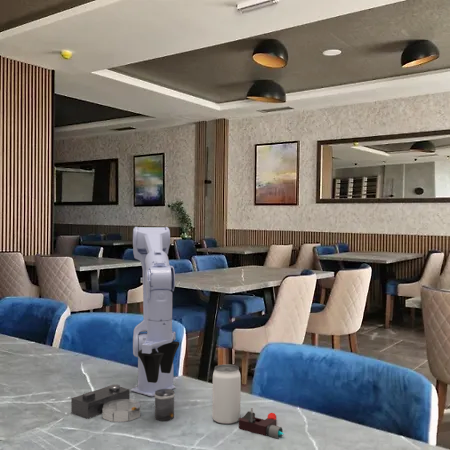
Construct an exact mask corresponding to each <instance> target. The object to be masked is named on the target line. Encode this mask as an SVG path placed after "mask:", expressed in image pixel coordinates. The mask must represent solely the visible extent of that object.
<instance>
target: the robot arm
mask: <svg viewBox="0 0 450 450" xmlns="http://www.w3.org/2000/svg"><path fill="white" fill-rule="evenodd" d="M170 246H171V231H170V228H169V227H168V226H165V227H163V226H160V227H159V226H156V227H154V226H153V227H152V226H151V227H150V226H149V227H146V226H145V227H143V226H139V227H138V226H134V227H133V230H132V247H133V248H132V249H133V251H132V252H133V257H134V259H135V260H138V261H139V262H140V264H141V268H142V306H143V313H142V314H143V315H142V316H143V320H142V321H141V322H139V323H138V324H137V325H135V327H134V329H133V335H132V336H133V337H132V354H133V356H134V357H135V358H137V386H135V387H133V388H130V391H131V392H134V393H138V394H142V395H144V396H149V397H155V391H157V390H160V389H171V390H174V389H176V385H174V359H175V356H176V353H177V350H178V349H179V347H180V342H179V341H175V340H176V331H173V292H174V291H175V286H176V273H175V268H174V266H173V265H170V261H169V256H168V255H169V249H170Z"/></svg>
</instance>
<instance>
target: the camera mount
mask: <svg viewBox="0 0 450 450" xmlns="http://www.w3.org/2000/svg"><path fill="white" fill-rule="evenodd" d="M130 391H131V388H130V389H129V388H126V387H122V386H121V385H120V384H110V385H109V386H105V387H103V388H99V389H96V390H93V391H89V392H86V393H85V392H84V393H83V394H80V395H77V396H74V397H71V408H70V409H71V410H70V412H71V413H72V414H73V415H76V416H79V417H82V418H84V417H85V419H87V418H88V419H91V418H94V417H97V416H99V415H102V419H104V420H105V421H109V422H111V423H118V422H119V423H120V422H121V423H123V422H124V423H125V422H130V421H133V420H136V419H138V418H140V417H141V401H138V400H135V399H131V397H130V394H131V392H130ZM96 415H97V416H96ZM93 416H94V417H93ZM90 417H91V418H90Z"/></svg>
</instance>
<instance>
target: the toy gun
mask: <svg viewBox="0 0 450 450" xmlns="http://www.w3.org/2000/svg"><path fill="white" fill-rule="evenodd" d="M253 410H254V409H253V408H252V407H250V410H249V411H246V413H245V415H244V416H241V417H240V418H239V421H238V424H237V425H238V429H239V430H242V431H245V432H250V433H252V434H257V435H261V436H263V437H266V436H269V437H271V438H274V439H279V437H282V436H283V435H285V433H284V432H283V427H282V426H277V415H276V413H275V412H269V413H268V414H267V418H265V419H263V418H259V417H257V416H256V413H255V412H254V411H253Z"/></svg>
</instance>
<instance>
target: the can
mask: <svg viewBox="0 0 450 450" xmlns="http://www.w3.org/2000/svg"><path fill="white" fill-rule="evenodd" d="M239 369H240V367H239V366H238V365H234V364H226V363H225V364H218V365H215V366H214V370H213V374H212V401H211V403H212V410H211V411H212V420H213V421H214V422H215V423H217V424H220V425H233V424H236V423H239V418H241V398H242V397H241V389H242V388H241V387H242V385H241V379H242V377H241V376H242V375H241V372H240V370H239Z"/></svg>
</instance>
